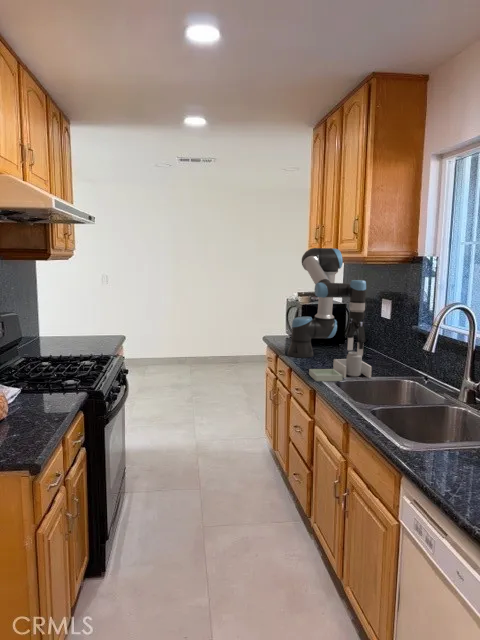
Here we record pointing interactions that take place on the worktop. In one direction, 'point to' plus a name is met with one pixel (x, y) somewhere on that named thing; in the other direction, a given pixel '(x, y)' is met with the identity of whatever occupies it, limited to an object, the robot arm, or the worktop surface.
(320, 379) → the tray
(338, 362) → the bay
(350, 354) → the can
